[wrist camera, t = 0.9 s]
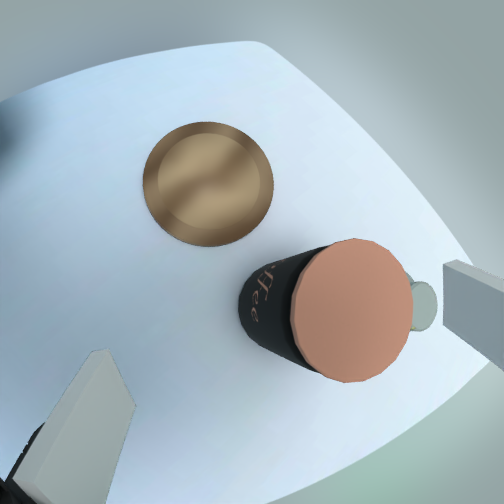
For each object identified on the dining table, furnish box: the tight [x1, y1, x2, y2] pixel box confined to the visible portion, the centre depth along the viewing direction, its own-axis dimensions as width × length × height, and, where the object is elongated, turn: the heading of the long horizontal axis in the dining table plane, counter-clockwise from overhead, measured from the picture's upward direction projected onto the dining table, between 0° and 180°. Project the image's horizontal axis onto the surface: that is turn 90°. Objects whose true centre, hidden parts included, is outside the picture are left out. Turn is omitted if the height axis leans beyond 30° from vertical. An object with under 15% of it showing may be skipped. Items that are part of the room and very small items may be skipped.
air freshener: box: [405, 272, 437, 331], centre depth 38 cm, size 11×8×10 cm
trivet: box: [143, 122, 274, 247], centre depth 38 cm, size 16×16×1 cm
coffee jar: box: [239, 238, 413, 383], centre depth 31 cm, size 11×11×18 cm
